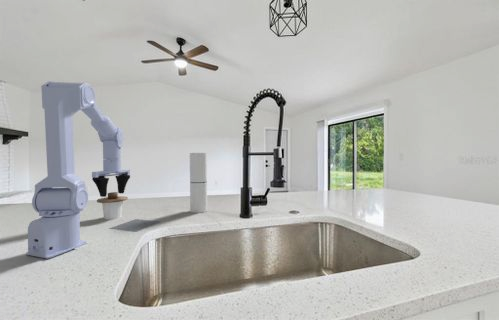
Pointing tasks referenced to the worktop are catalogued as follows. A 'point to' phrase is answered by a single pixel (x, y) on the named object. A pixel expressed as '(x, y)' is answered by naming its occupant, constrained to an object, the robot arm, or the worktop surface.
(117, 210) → the white cup
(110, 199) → the walnut lid
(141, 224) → the rubber mat
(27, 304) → the worktop surface
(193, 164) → the cylindrical container
